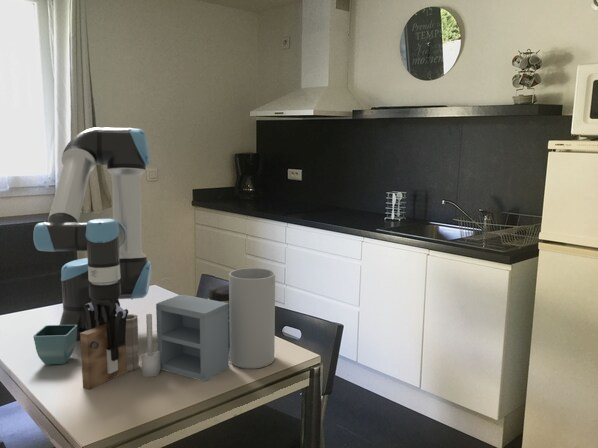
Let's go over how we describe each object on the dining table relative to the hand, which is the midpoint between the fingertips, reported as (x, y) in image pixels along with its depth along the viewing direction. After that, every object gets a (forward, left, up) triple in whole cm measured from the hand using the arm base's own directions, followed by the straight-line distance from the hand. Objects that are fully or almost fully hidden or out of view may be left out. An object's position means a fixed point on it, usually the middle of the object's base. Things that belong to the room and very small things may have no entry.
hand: (108, 370), depth 134 cm
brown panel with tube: (0, +1, -2) cm, 2 cm away
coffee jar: (+13, +32, -2) cm, 35 cm away
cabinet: (+14, +13, -2) cm, 19 cm away
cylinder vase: (+26, +27, -2) cm, 38 cm away
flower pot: (-20, 0, -2) cm, 20 cm away
